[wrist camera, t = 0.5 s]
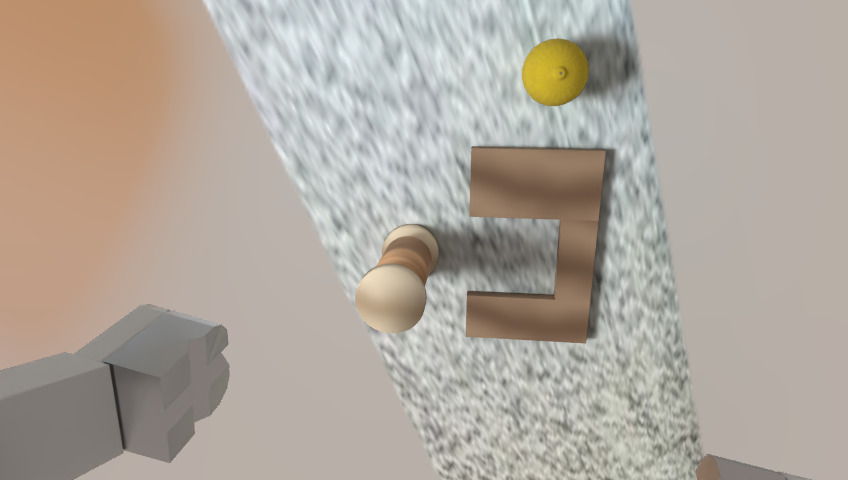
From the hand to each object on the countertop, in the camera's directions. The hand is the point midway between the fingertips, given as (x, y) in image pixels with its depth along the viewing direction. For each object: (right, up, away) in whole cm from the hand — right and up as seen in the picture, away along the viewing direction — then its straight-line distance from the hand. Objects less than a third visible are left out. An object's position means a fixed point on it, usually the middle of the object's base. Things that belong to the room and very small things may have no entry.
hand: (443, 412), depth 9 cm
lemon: (+11, +19, +42) cm, 47 cm away
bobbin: (-2, +2, +49) cm, 49 cm away
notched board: (+10, +2, +47) cm, 48 cm away
